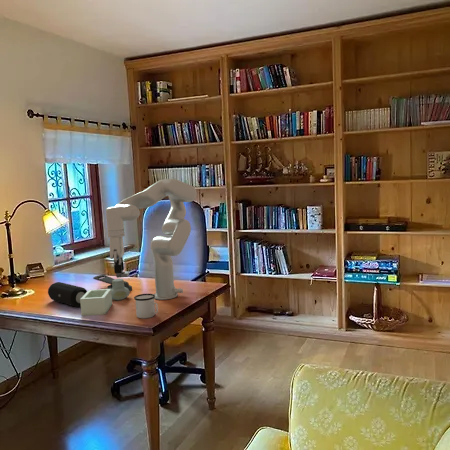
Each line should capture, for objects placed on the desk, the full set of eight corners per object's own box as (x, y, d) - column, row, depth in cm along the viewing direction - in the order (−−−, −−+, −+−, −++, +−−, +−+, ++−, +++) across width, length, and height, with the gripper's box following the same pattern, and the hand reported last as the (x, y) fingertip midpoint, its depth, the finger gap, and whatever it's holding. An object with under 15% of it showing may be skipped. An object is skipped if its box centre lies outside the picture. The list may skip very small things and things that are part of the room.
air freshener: (128, 295, 252) (127, 277, 250) (131, 299, 244) (129, 280, 243) (107, 298, 248) (106, 279, 247) (109, 302, 240) (107, 283, 239)
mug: (130, 317, 214) (129, 297, 213) (145, 311, 222) (144, 292, 221) (150, 321, 207) (149, 300, 206) (165, 314, 215) (163, 295, 214)
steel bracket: (129, 274, 225) (127, 257, 224) (127, 276, 220) (125, 260, 219) (118, 275, 225) (117, 258, 224) (116, 277, 220) (115, 260, 219)
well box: (112, 304, 236) (111, 288, 235) (105, 314, 220) (104, 297, 219) (90, 305, 236) (88, 290, 235) (81, 315, 220) (80, 299, 219)
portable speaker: (47, 302, 246) (45, 283, 245) (64, 297, 254) (62, 279, 252) (74, 310, 230) (72, 290, 228) (91, 305, 237) (90, 285, 236)
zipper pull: (103, 273, 277) (133, 278, 262) (104, 285, 277) (134, 289, 263) (91, 277, 269) (121, 281, 255) (92, 288, 270) (122, 293, 256)
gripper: (111, 231, 228) (114, 268, 230) (103, 236, 211) (107, 276, 213) (127, 230, 228) (130, 267, 231) (120, 235, 211) (124, 275, 214)
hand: (119, 271), depth 222 cm, fingers closed on steel bracket, 5 cm apart
